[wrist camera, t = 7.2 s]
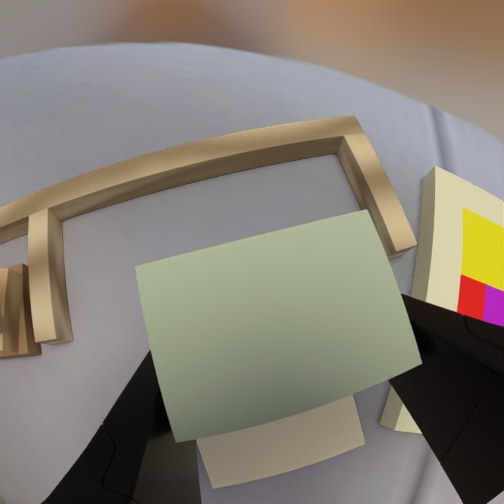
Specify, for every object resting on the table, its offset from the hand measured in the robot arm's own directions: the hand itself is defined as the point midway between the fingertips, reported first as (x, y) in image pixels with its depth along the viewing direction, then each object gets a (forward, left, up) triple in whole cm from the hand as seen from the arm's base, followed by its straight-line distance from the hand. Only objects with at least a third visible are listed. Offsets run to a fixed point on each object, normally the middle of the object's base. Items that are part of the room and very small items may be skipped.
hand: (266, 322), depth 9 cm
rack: (+3, +10, -13) cm, 17 cm away
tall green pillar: (0, 0, -8) cm, 8 cm away
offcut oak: (-7, +18, -11) cm, 22 cm away
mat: (-3, -3, -13) cm, 13 cm away
